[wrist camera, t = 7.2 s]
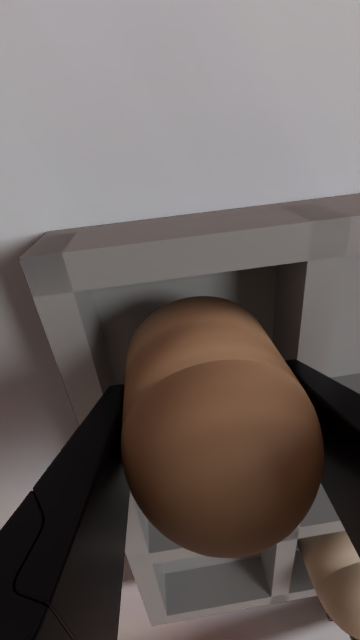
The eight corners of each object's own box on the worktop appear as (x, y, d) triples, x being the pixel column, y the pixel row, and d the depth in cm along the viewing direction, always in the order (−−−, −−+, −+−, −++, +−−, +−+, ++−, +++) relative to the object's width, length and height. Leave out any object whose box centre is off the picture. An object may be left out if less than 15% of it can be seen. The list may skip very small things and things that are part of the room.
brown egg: (264, 402, 11) (350, 581, 6) (138, 420, 11) (137, 619, 6) (269, 286, 9) (405, 433, 4) (113, 307, 9) (83, 484, 4)
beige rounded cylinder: (357, 533, 20) (422, 649, 15) (288, 545, 19) (333, 667, 15) (371, 491, 17) (453, 612, 13) (294, 504, 17) (349, 632, 13)
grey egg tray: (373, 533, 21) (401, 580, 19) (150, 572, 20) (151, 626, 18) (512, 174, 10) (617, 182, 8) (47, 231, 10) (17, 258, 7)
